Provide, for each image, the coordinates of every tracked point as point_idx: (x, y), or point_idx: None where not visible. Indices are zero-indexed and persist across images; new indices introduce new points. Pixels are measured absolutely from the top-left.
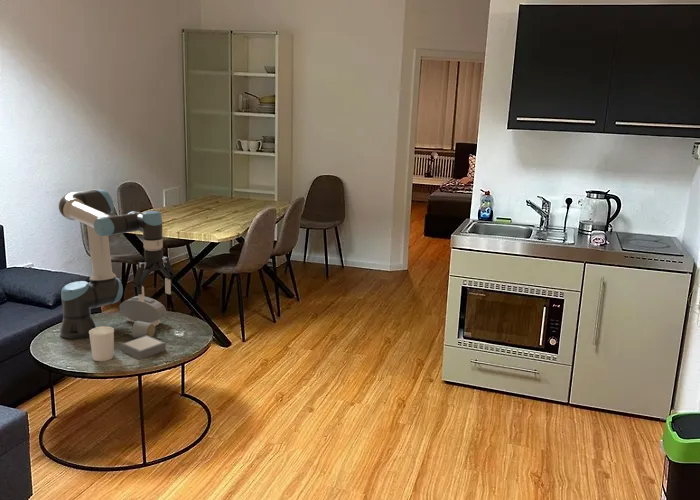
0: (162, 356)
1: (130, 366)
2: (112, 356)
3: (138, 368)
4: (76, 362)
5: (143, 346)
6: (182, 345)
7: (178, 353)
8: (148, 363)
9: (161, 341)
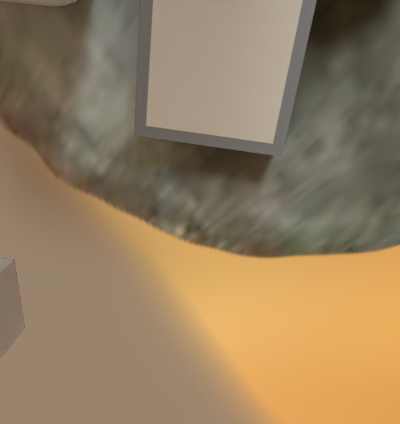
0: (219, 181)
1: (79, 144)
2: (71, 2)
3: (88, 183)
4: None
5: (186, 102)
6: (359, 172)
7: (277, 214)
8: (140, 182)
9: (284, 130)
